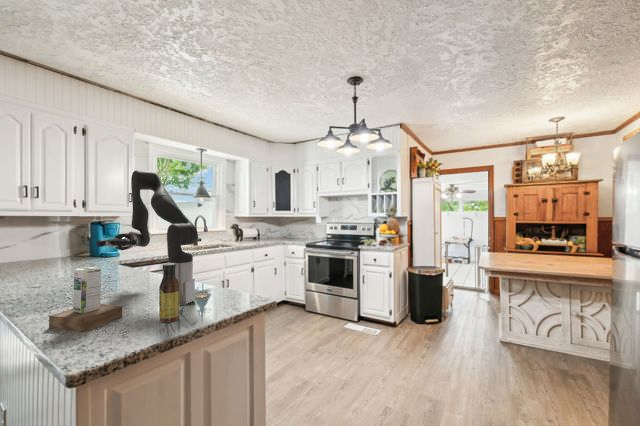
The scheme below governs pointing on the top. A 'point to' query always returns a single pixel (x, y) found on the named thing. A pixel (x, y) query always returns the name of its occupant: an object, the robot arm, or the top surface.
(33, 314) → the top surface
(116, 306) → the walnut plinth
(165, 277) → the sauce bottle
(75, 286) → the syrup box
